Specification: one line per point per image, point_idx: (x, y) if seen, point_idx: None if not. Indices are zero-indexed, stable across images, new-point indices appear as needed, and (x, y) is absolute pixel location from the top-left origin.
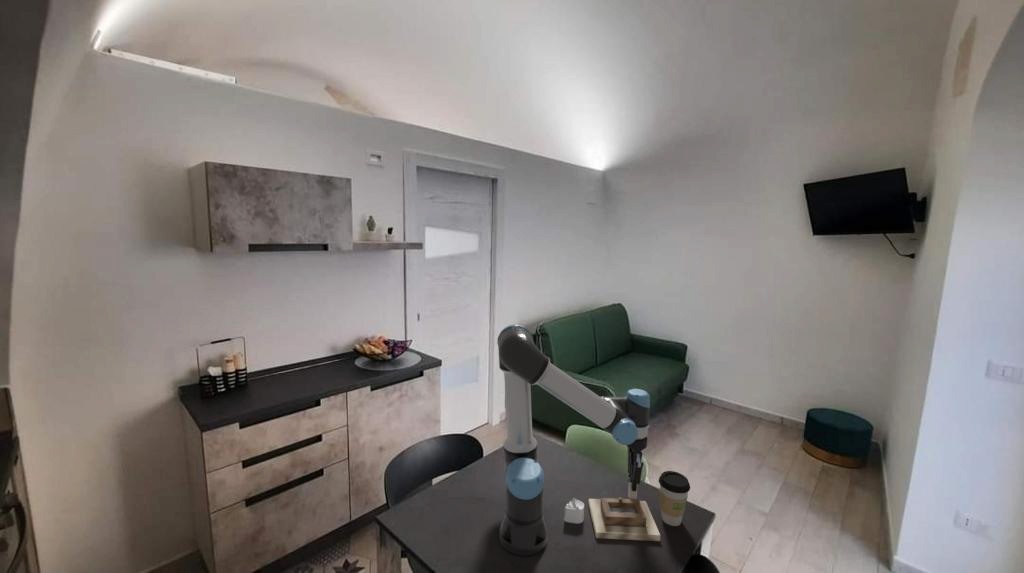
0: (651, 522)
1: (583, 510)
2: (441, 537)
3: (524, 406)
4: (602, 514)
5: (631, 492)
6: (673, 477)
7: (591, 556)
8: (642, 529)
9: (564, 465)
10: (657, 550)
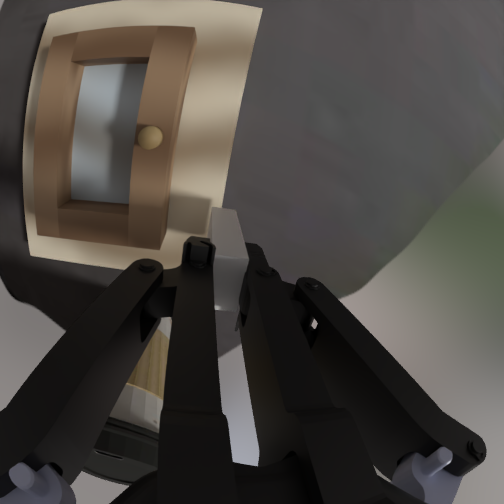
0: (80, 250)
1: None
2: None
3: None
4: None
5: (210, 230)
6: (130, 470)
7: (12, 15)
8: None
9: (473, 69)
10: (11, 221)
